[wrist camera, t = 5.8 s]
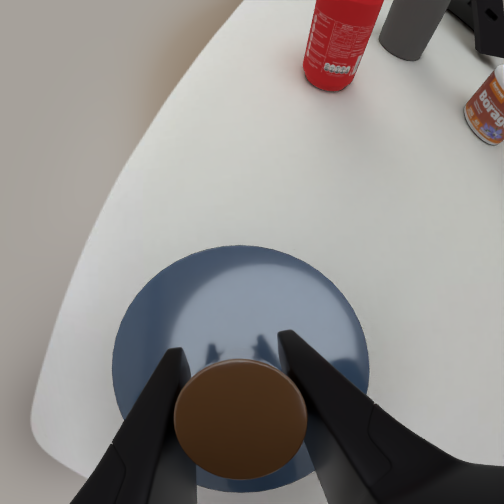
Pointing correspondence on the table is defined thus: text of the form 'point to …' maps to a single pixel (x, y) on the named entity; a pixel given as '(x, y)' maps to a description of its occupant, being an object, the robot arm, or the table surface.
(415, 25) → the bottle
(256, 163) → the table surface
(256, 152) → the table surface
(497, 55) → the light fixture
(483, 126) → the pill bottle
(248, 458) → the lid
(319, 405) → the robot arm
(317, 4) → the beverage can
